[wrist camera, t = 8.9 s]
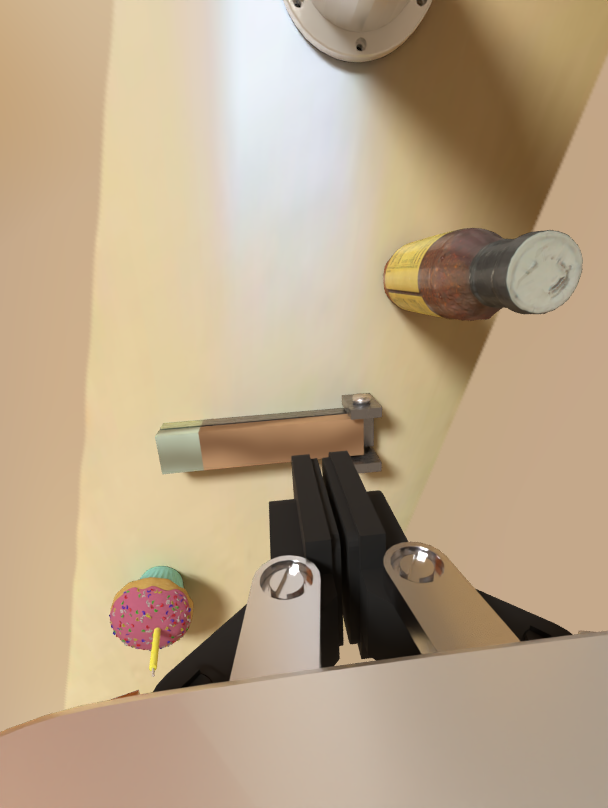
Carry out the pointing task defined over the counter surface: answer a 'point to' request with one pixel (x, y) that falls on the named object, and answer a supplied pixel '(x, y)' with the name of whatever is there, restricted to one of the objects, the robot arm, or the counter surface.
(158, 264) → the counter surface
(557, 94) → the counter surface
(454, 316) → the sauce bottle
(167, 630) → the cupcake
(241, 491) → the counter surface
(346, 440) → the bar
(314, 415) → the base
